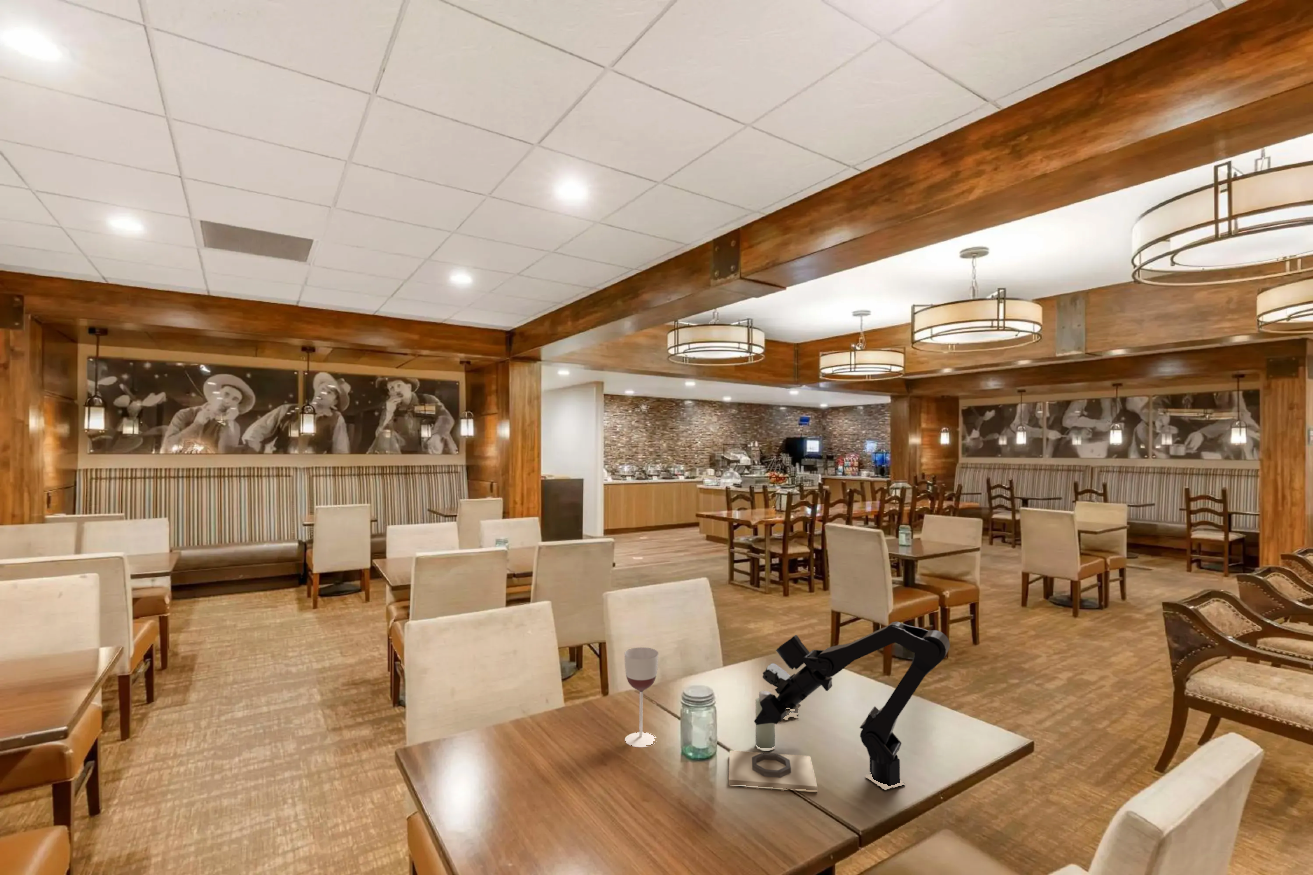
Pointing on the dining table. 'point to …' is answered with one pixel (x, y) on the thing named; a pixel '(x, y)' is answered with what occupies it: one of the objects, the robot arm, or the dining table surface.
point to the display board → (771, 770)
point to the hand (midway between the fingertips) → (762, 716)
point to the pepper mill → (764, 726)
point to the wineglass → (641, 686)
